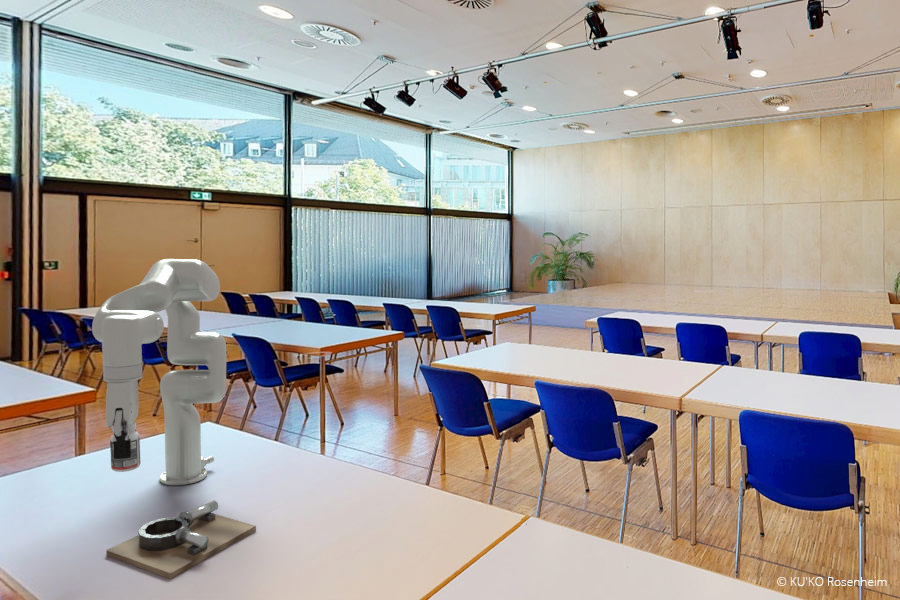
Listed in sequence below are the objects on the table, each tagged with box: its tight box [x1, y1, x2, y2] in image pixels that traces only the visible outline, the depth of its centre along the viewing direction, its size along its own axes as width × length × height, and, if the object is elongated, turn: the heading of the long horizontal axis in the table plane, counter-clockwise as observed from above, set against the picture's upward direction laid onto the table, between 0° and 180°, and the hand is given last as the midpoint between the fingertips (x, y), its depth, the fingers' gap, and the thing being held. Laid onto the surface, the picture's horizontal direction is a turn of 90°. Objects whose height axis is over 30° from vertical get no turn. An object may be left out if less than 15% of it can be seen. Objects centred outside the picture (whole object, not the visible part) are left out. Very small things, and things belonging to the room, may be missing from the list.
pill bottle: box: [109, 421, 141, 473], centre depth 134 cm, size 6×6×10 cm
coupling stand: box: [106, 500, 257, 580], centre depth 139 cm, size 24×20×6 cm
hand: (125, 452), depth 134 cm, fingers closed on pill bottle, 5 cm apart
